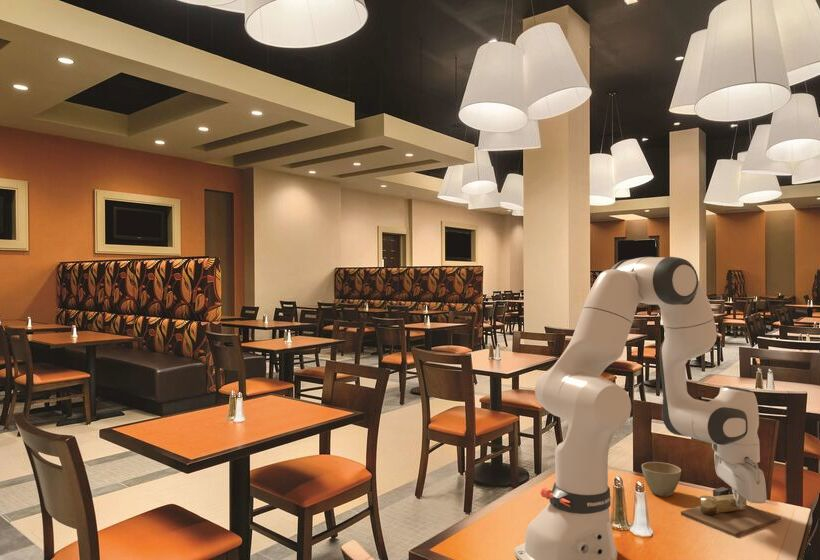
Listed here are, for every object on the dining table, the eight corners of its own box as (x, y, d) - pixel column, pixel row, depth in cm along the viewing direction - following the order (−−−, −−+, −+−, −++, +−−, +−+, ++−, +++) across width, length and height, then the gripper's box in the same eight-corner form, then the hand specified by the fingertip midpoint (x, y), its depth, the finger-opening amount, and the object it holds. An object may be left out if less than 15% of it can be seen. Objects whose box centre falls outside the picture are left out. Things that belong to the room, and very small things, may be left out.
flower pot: (677, 503, 146) (676, 476, 146) (637, 495, 152) (637, 469, 152) (685, 491, 154) (684, 465, 154) (647, 484, 160) (646, 459, 160)
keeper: (731, 509, 139) (731, 496, 139) (713, 502, 144) (712, 489, 144) (746, 505, 142) (746, 491, 142) (727, 498, 146) (727, 485, 146)
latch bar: (707, 515, 135) (707, 501, 135) (697, 509, 139) (696, 496, 139) (747, 509, 138) (747, 496, 138) (736, 504, 141) (735, 491, 141)
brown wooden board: (735, 536, 126) (735, 533, 126) (680, 514, 139) (680, 511, 139) (781, 520, 134) (781, 517, 134) (725, 500, 147) (725, 497, 147)
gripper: (773, 465, 126) (775, 526, 126) (734, 441, 147) (735, 493, 146) (744, 464, 127) (745, 524, 127) (709, 440, 148) (710, 492, 147)
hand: (740, 507), depth 137 cm, fingers closed
